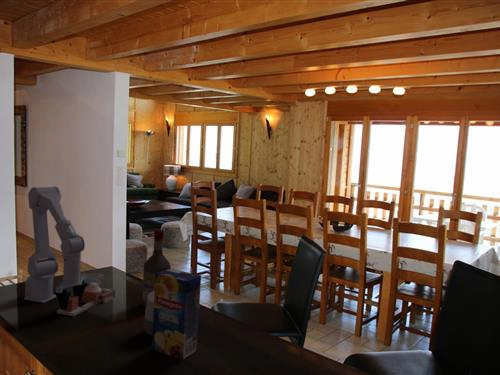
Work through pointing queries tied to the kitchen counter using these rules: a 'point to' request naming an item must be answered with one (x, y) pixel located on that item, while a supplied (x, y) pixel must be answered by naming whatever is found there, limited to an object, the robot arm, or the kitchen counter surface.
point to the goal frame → (106, 294)
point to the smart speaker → (149, 314)
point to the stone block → (93, 278)
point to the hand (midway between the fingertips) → (70, 305)
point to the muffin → (94, 288)
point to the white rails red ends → (87, 297)
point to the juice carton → (176, 313)
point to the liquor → (154, 266)
